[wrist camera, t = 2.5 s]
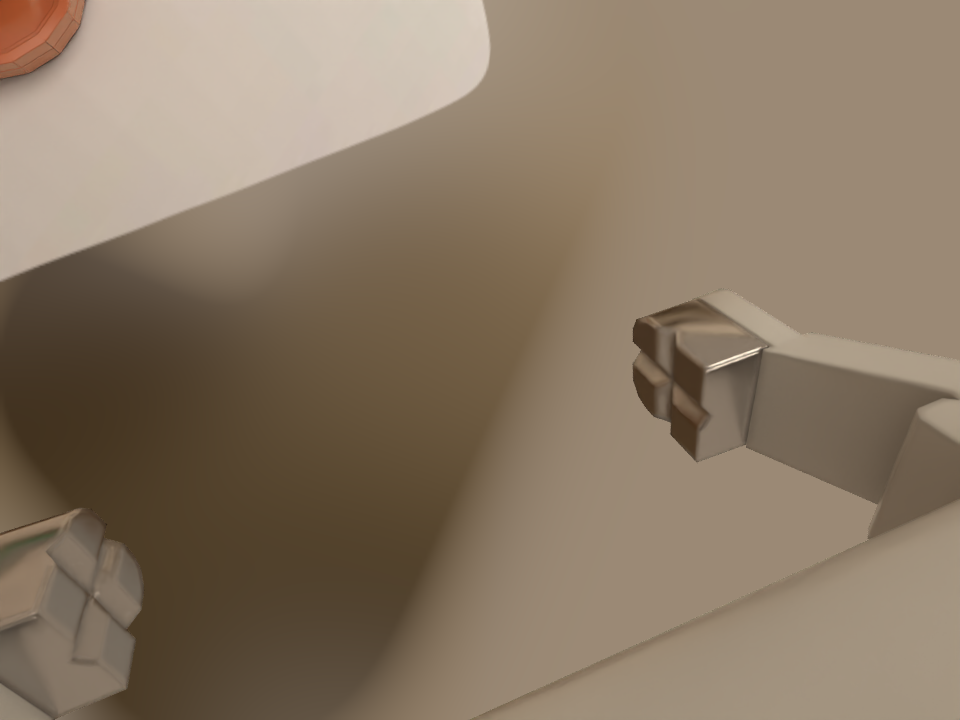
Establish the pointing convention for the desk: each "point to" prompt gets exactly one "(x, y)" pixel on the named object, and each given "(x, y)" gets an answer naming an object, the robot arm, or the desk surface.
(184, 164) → the desk surface
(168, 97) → the desk surface
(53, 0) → the dish
